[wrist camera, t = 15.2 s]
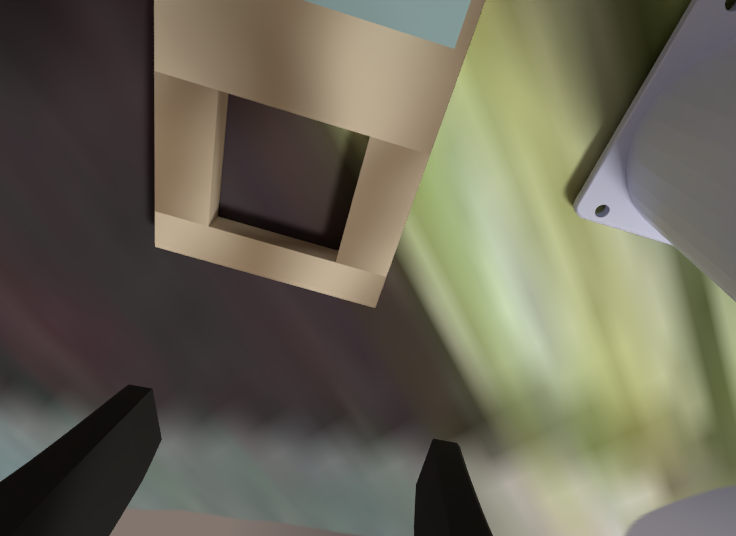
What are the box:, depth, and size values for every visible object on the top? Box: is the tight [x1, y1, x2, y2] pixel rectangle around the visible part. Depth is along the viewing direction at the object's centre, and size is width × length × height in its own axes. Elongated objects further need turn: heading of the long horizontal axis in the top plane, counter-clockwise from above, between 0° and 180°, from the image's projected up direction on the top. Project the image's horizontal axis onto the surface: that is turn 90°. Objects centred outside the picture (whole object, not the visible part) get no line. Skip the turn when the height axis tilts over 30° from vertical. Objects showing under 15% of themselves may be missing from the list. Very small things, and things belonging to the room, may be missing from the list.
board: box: [154, 0, 485, 308], centre depth 15 cm, size 10×16×1 cm, turn 165°
